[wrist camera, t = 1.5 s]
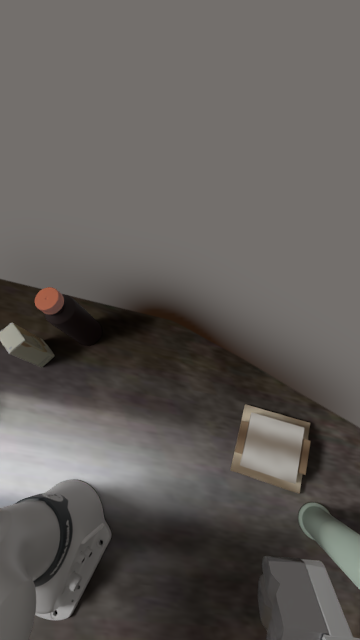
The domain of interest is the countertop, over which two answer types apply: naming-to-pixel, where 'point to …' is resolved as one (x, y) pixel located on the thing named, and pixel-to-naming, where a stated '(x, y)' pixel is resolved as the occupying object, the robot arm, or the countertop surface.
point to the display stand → (272, 448)
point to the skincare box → (25, 345)
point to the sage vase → (332, 538)
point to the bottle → (68, 316)
